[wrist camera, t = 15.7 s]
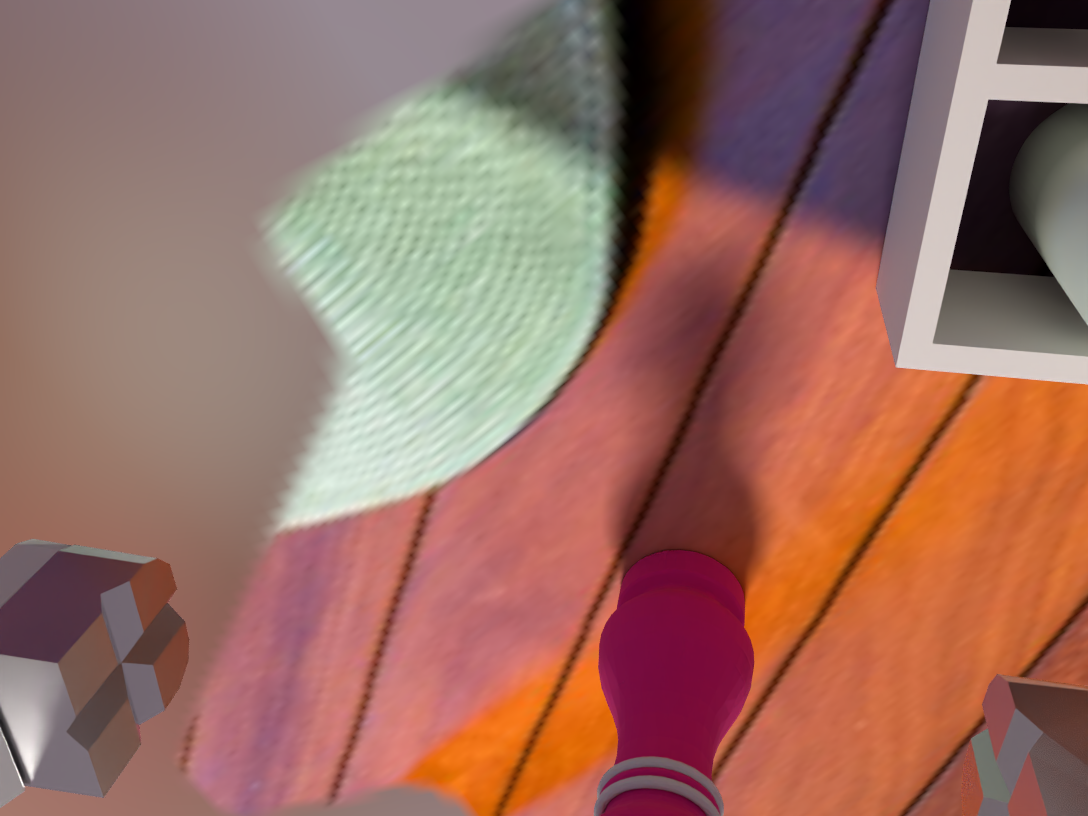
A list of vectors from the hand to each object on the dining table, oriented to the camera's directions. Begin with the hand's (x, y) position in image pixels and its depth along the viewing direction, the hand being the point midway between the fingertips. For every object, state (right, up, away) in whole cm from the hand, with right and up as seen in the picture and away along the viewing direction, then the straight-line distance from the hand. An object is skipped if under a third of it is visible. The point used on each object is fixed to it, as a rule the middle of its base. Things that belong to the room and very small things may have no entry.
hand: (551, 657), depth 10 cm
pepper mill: (+7, -7, +40) cm, 41 cm away
